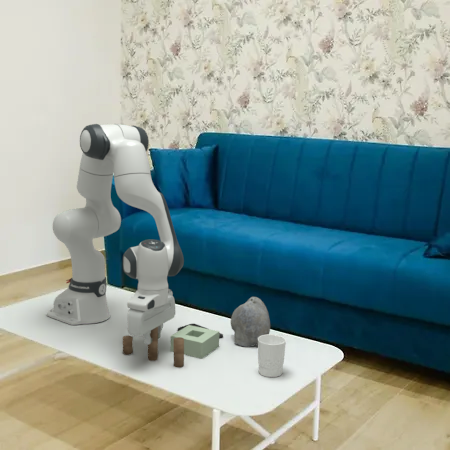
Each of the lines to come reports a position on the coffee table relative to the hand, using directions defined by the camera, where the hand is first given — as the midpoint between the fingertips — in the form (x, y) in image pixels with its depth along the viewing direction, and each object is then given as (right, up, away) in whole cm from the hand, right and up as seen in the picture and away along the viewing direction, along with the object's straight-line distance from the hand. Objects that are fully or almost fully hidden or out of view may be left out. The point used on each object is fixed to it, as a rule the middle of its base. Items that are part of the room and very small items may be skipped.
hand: (152, 341), depth 185 cm
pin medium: (+8, -7, -3) cm, 11 cm away
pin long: (0, -6, +1) cm, 6 cm away
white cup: (+34, -8, -6) cm, 36 cm away
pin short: (-8, -5, +5) cm, 11 cm away
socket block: (+12, -4, +9) cm, 16 cm away
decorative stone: (+29, -3, +16) cm, 34 cm away
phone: (+13, -2, +22) cm, 26 cm away
